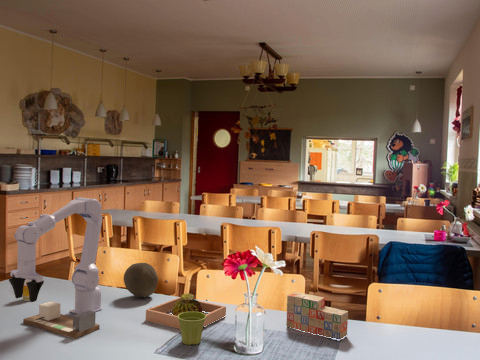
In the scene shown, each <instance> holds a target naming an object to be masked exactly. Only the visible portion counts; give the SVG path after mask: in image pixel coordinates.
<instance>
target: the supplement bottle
mask: <svg viewBox="0 0 480 360" xmlns="http://www.w3.org/2000/svg"><path fill="white" fill-rule="evenodd" d="M30 281H32V280H29V279H26V280H25V282H24V287H23V296H22V301H24V302H25V301H26V302H30V299H29V290H28V287H27V284H26V282H30Z"/></svg>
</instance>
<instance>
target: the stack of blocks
mask: <svg viewBox="0 0 480 360" xmlns="http://www.w3.org/2000/svg"><path fill="white" fill-rule="evenodd" d="M286 300H287V301H286V326H287V327H291V328H295V329H299V330H301V331H305V332H310V333H313V334H319V335H323V336H326V337H331V338H336V339H341V338H343V337H344V336H346V335H347V336H348V322H349V321H348V319H349V311H348V310H343V309H339V308H335V307H331V306H330V307H329V306H326V303H325V302H326V301H325V300H326V298H325V297H323V296H319V295H314V294H313V295H312V294H307V293H303V292H299V291H298V292H297V291H295V292H292V293H290V294H288V295H286ZM301 331H300V332H301Z"/></svg>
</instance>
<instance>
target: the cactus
mask: <svg viewBox="0 0 480 360" xmlns="http://www.w3.org/2000/svg"><path fill="white" fill-rule="evenodd" d="M180 298H181V300H178V301H177V302H176V303H175V304H174V305H173V310H172V311H171V313H172V314H173V315H175V316H178V315H179V314H180V313H184V312H201V313H204V312H202V307H201V305H202V304H201V303H199V302H198V301H199V300H197V299H195V295H193V294H192V293H190V292H189V293H182V294H181V296H180ZM200 304H201V305H200ZM172 314H171V315H172ZM204 314H205V315H206V313H204Z"/></svg>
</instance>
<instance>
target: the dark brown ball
mask: <svg viewBox="0 0 480 360" xmlns="http://www.w3.org/2000/svg"><path fill="white" fill-rule="evenodd" d="M158 282H159V280H158V274H157V272H156V270H155V268H154V266H152V265H151V264H150V263H147V262H136V263H133V264H131V265H130V266H128V268H127V269H126V270H125V272H124V274H123V283H124V286H125V288H126V289H127V291H128V292H129V293H131V294H132V295H133V296H135V297H138V298H148V297H150V296H151V295H153V294H154V293H155V291H156V289H157V286H158Z"/></svg>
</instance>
